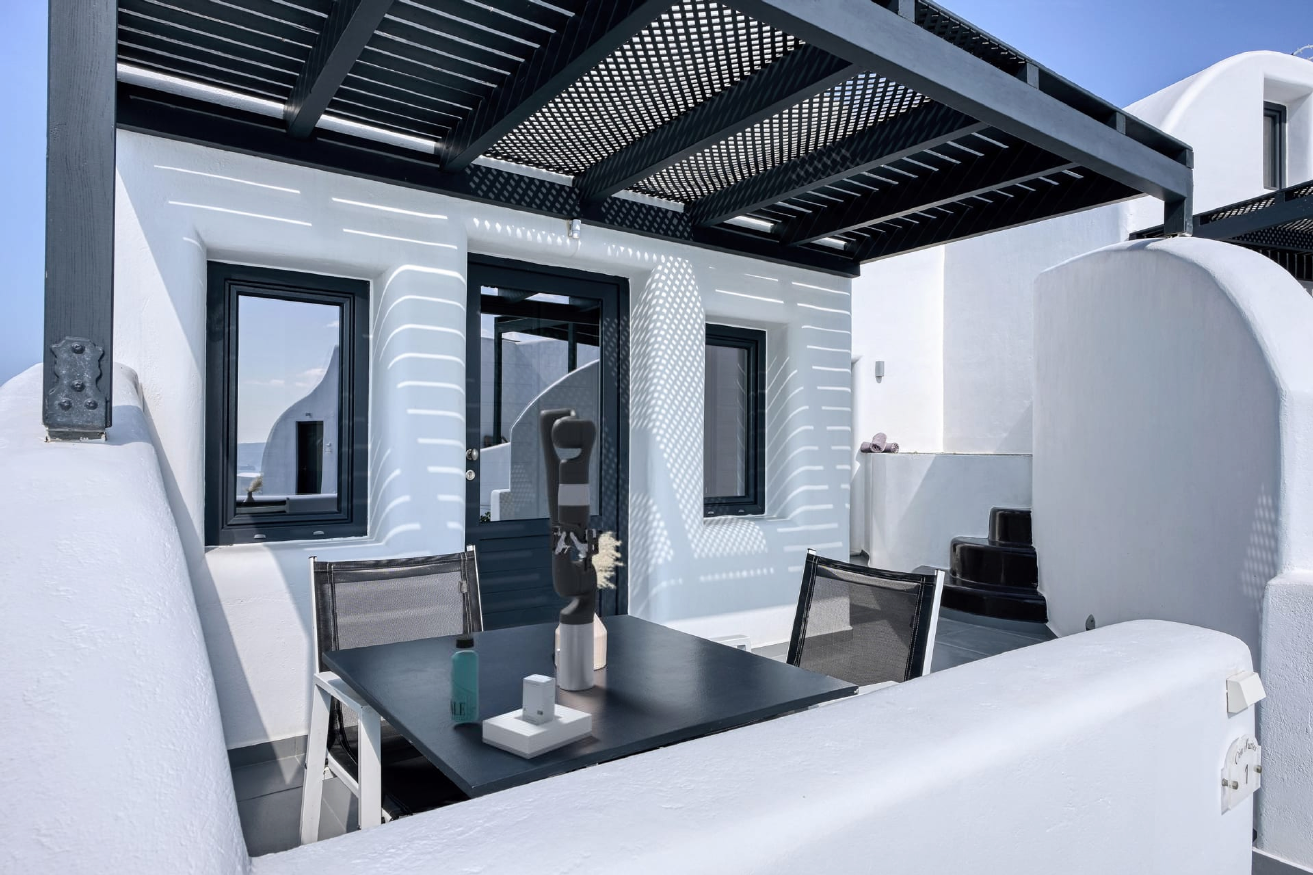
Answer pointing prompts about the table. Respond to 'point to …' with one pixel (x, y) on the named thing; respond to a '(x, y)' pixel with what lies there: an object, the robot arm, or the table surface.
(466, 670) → the beverage bottle
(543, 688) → the skincare box
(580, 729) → the white flat block
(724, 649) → the table surface
